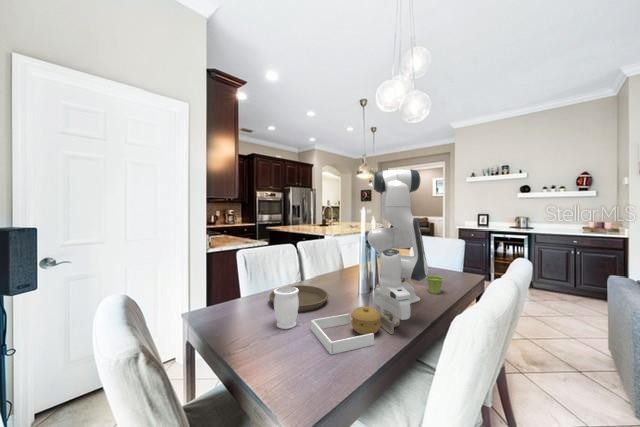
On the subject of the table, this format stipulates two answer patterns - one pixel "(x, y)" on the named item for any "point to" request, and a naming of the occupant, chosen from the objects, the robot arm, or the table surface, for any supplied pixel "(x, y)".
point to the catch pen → (342, 344)
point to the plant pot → (434, 284)
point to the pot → (365, 320)
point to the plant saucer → (307, 297)
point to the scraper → (388, 323)
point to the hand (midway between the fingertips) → (390, 321)
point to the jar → (286, 306)
